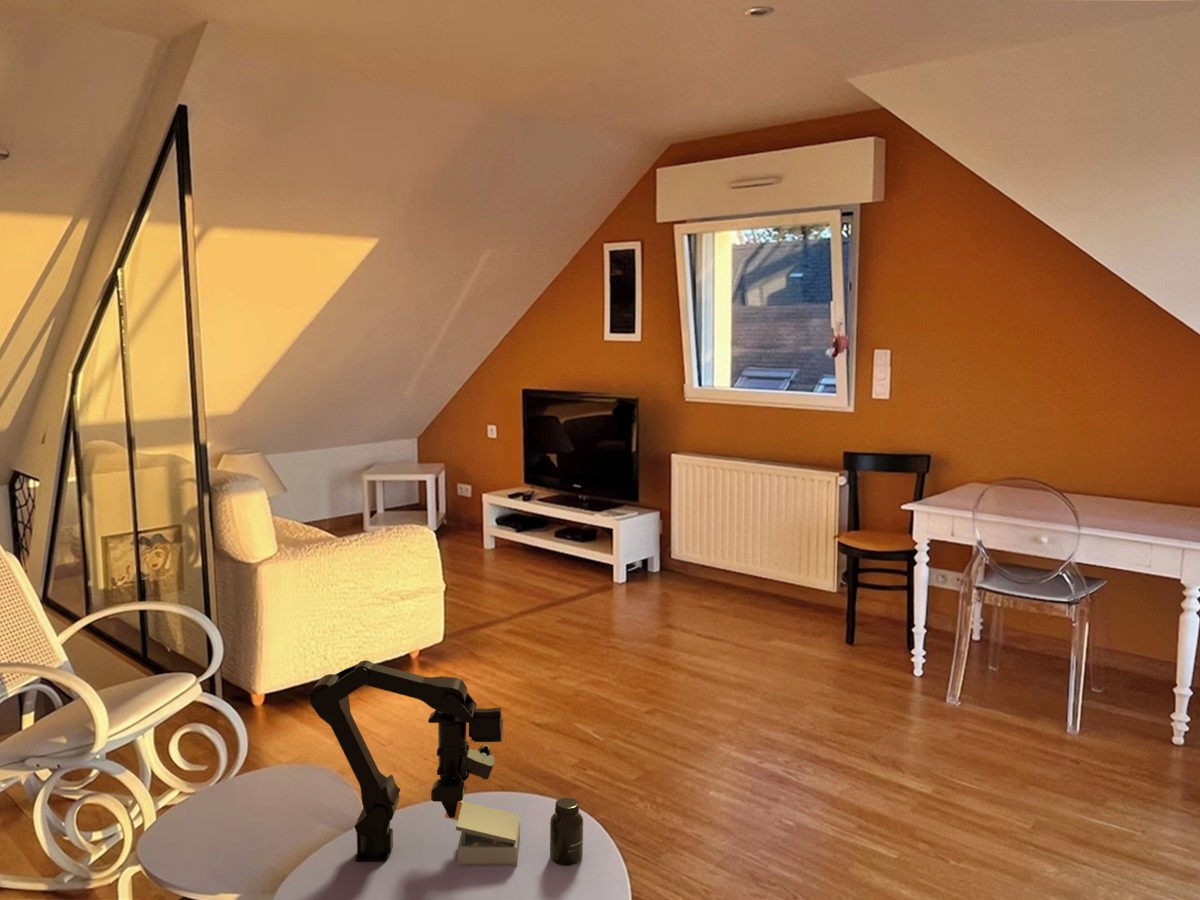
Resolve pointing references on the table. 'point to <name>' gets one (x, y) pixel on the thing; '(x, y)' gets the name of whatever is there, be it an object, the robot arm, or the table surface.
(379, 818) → the robot arm
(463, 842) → the tub
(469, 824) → the lid
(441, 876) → the table surface
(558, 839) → the supplement bottle
